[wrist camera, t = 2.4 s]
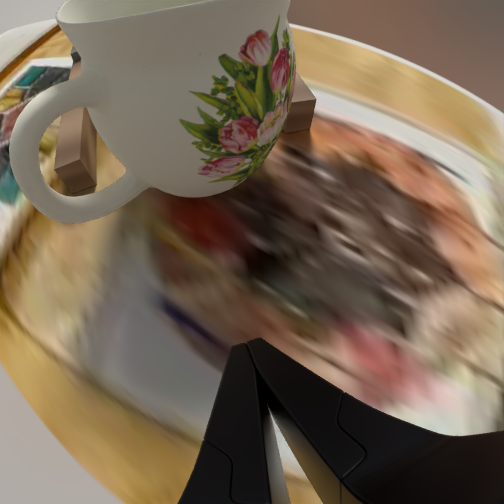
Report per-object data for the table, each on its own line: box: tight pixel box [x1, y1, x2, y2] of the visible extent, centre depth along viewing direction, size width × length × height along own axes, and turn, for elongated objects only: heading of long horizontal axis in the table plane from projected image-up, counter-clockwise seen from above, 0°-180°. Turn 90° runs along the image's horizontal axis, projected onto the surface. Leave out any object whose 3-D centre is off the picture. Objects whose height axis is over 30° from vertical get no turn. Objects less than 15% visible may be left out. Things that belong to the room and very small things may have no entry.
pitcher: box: [9, 0, 296, 224], centre depth 14 cm, size 11×18×14 cm, turn 142°
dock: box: [54, 46, 316, 194], centre depth 22 cm, size 17×18×4 cm
